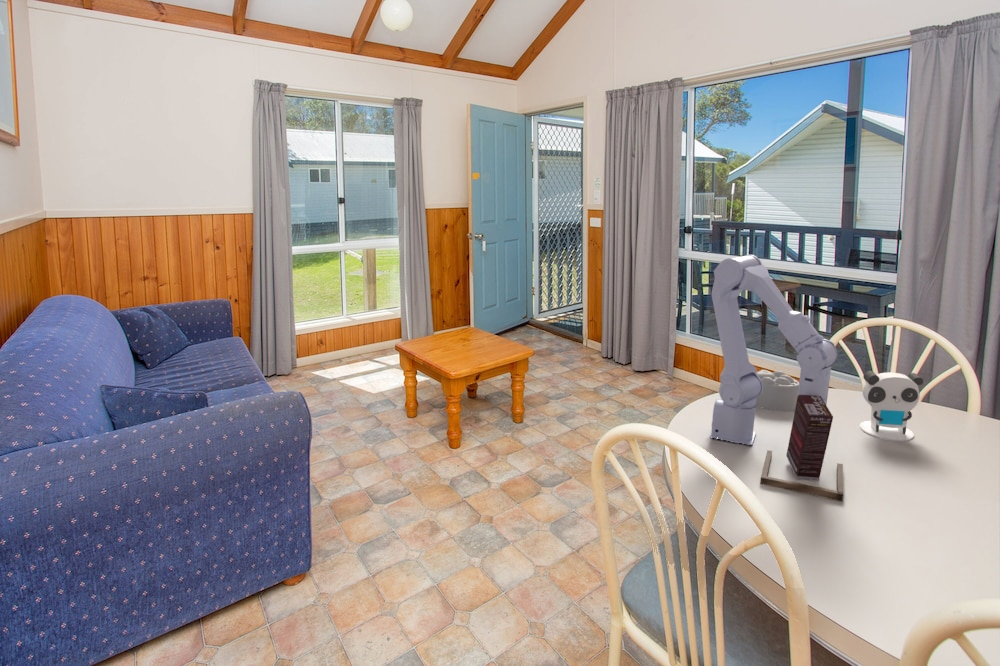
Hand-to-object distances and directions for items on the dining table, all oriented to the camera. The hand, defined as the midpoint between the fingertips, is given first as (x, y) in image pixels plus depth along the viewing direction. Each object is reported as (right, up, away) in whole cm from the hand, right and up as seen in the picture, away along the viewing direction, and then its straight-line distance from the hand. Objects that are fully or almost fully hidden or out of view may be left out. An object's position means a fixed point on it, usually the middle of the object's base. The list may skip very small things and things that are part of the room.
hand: (805, 452), depth 133 cm
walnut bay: (-4, -4, -6) cm, 8 cm away
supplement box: (-3, -3, -4) cm, 5 cm away
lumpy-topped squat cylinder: (+8, +7, +33) cm, 35 cm away
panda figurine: (+27, +2, +15) cm, 31 cm away
